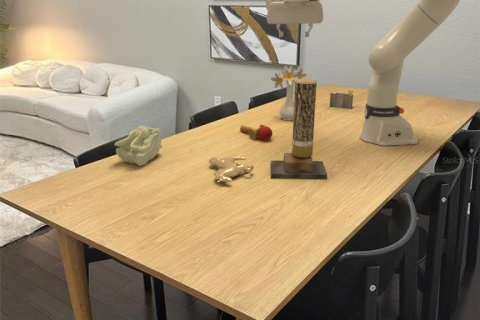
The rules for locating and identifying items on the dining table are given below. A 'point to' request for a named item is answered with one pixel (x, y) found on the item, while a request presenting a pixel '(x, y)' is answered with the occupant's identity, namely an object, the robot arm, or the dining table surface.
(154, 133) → the folded clay sculpture
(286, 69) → the flower vase
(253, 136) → the kendama
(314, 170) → the plinth
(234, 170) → the unicorn
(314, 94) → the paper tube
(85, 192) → the dining table surface
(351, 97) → the ruin model on sheet
